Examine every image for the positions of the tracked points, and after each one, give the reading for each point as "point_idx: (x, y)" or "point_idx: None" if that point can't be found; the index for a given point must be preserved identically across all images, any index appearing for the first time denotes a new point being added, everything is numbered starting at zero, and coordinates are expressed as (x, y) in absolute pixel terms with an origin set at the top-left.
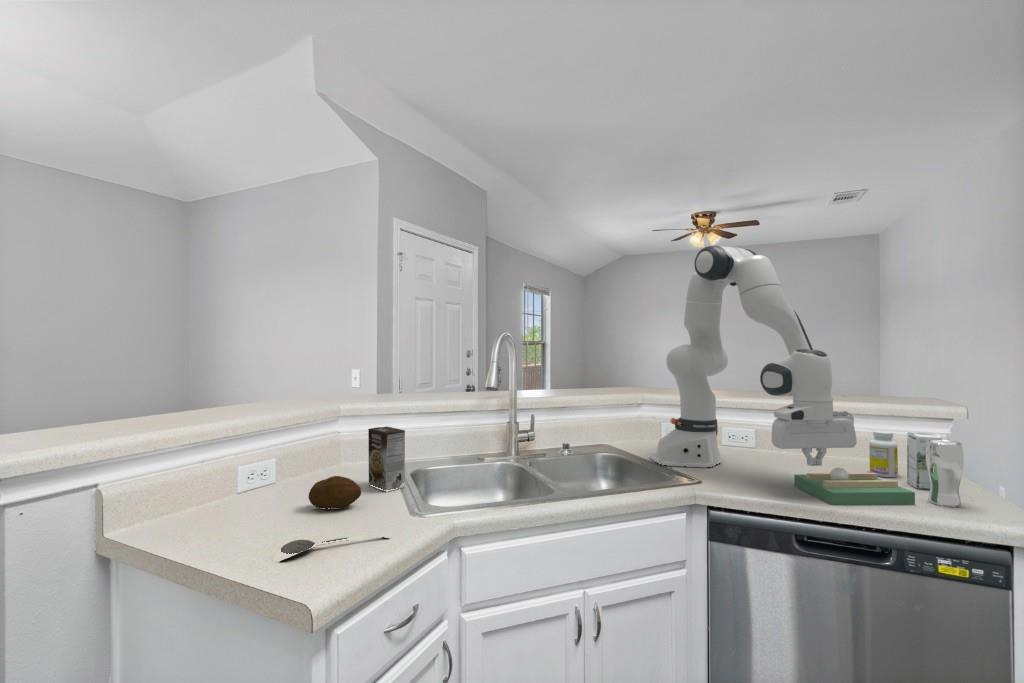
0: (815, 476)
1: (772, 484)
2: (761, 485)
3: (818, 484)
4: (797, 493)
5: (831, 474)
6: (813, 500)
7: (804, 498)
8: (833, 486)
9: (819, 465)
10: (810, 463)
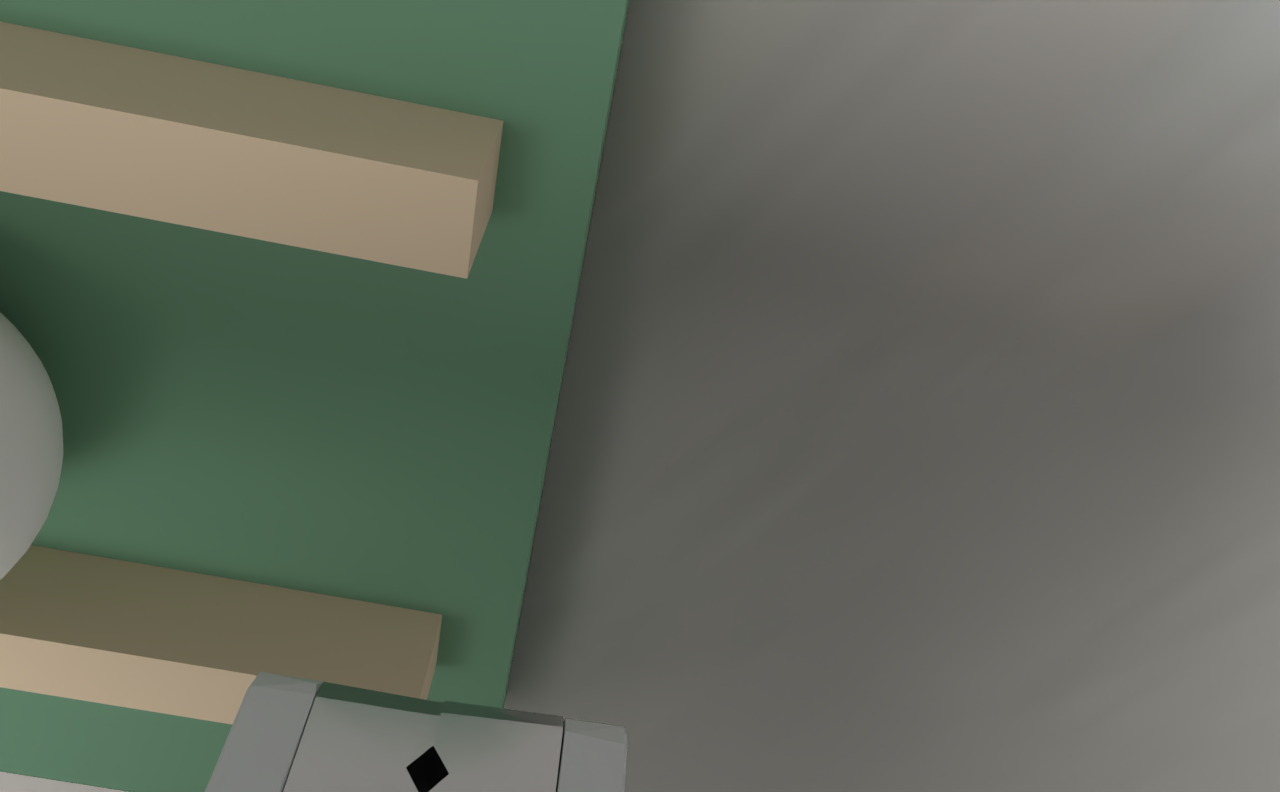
0: (291, 641)
1: (781, 783)
2: (976, 783)
3: (487, 350)
4: (770, 424)
5: (31, 492)
6: (826, 44)
7: (891, 183)
8: (299, 95)
9: (333, 683)
10: (619, 785)
